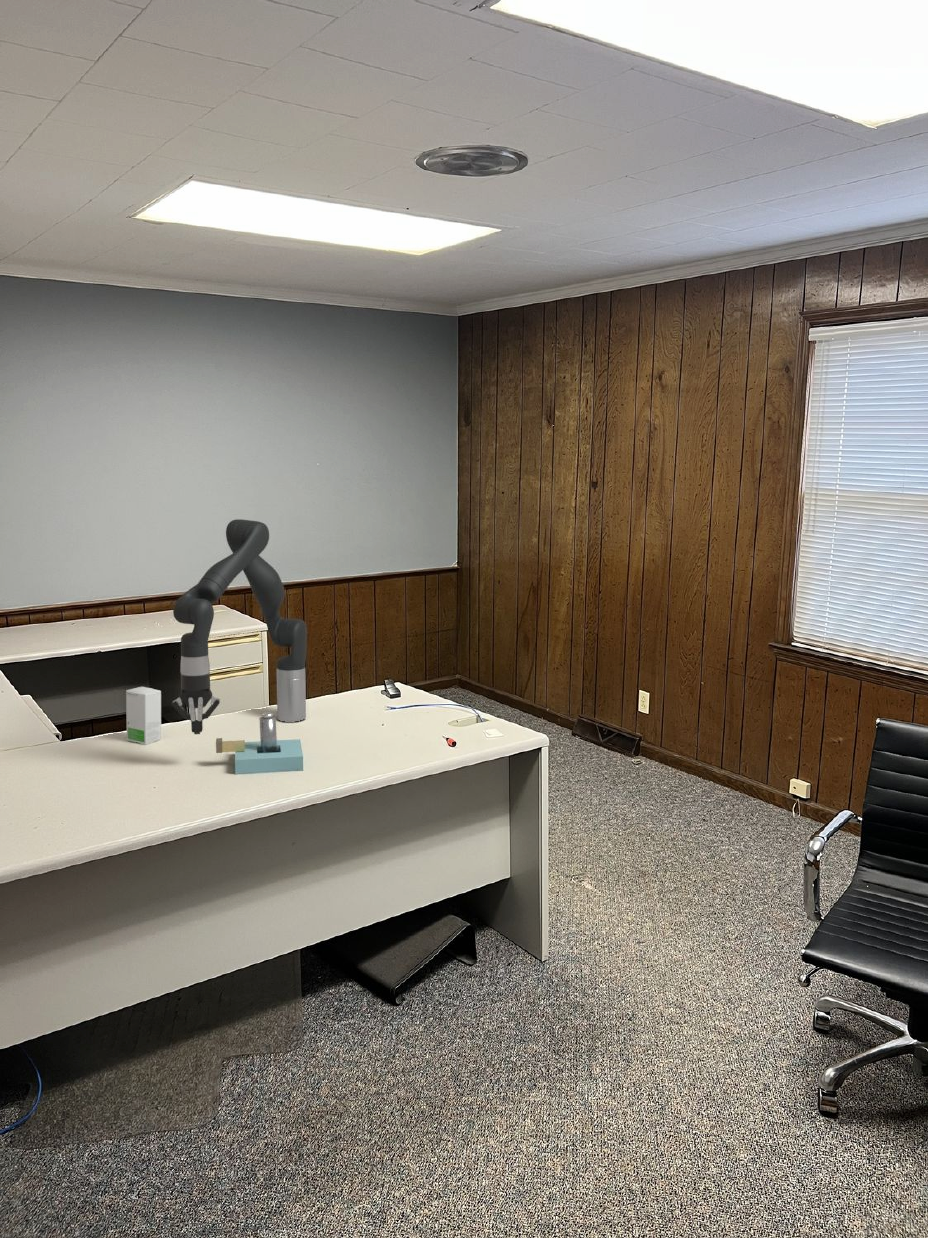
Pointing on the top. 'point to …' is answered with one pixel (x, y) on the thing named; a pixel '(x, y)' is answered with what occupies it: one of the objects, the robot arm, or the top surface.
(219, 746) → the block hammer
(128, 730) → the skincare box
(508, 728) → the top surface
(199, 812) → the top surface
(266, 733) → the metal capped cylinder
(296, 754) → the dock
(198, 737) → the top surface
